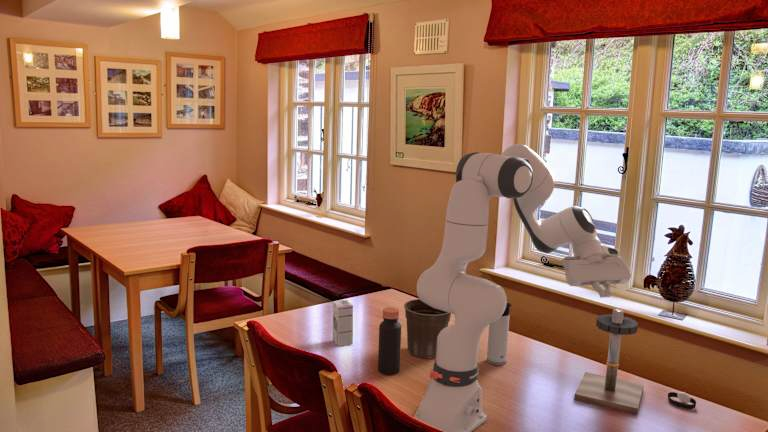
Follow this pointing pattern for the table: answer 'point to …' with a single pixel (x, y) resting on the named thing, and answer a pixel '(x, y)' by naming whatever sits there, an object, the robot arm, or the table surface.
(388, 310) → the bottle
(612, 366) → the metallic rounded rod
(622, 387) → the stand
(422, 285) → the robot arm
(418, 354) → the plant pot
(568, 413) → the table surface
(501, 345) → the travel mug
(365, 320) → the table surface
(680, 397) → the watch
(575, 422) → the table surface
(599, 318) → the grey gear
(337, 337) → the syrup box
